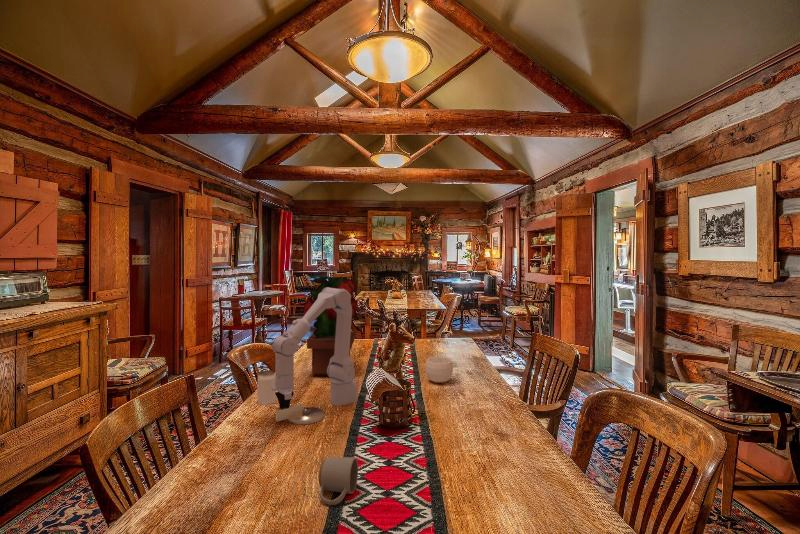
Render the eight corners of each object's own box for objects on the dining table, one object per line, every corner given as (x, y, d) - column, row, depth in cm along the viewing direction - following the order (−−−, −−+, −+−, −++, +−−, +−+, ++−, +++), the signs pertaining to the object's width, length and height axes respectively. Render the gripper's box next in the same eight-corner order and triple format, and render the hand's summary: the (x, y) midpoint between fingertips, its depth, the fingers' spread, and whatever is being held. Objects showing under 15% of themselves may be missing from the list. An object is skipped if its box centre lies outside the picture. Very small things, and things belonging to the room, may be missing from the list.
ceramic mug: (327, 478, 102) (327, 449, 102) (358, 481, 101) (358, 451, 100) (312, 505, 92) (311, 472, 91) (346, 509, 90) (347, 476, 90)
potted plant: (356, 366, 202) (358, 276, 200) (353, 380, 179) (354, 279, 178) (312, 365, 201) (312, 275, 199) (303, 380, 179) (303, 278, 177)
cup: (421, 384, 176) (421, 362, 175) (429, 376, 187) (429, 355, 187) (448, 387, 171) (449, 365, 171) (455, 379, 183) (456, 358, 183)
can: (270, 408, 146) (270, 376, 145) (254, 407, 147) (254, 374, 147) (279, 402, 152) (279, 370, 152) (263, 400, 154) (263, 369, 153)
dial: (314, 407, 144) (314, 393, 144) (330, 419, 135) (330, 404, 135) (270, 418, 135) (270, 403, 134) (283, 431, 125) (283, 415, 125)
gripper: (268, 368, 137) (268, 407, 138) (275, 381, 124) (275, 424, 125) (290, 366, 140) (289, 404, 141) (298, 378, 127) (298, 420, 128)
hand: (284, 413), depth 133 cm, fingers closed, pressing on dial
